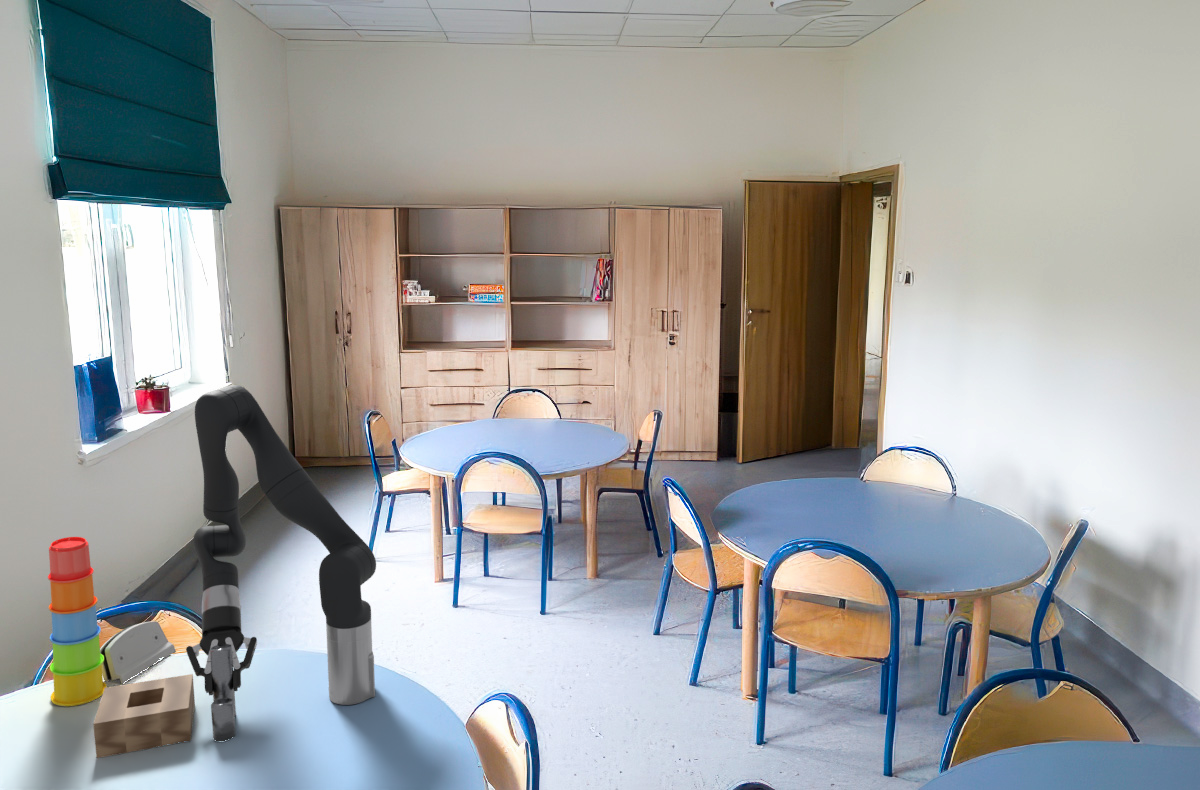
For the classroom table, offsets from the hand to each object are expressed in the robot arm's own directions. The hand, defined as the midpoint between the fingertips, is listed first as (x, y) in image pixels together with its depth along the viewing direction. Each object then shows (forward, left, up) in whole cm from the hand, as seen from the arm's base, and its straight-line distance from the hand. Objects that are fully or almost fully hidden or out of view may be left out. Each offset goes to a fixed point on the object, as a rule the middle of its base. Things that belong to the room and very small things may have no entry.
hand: (223, 691), depth 171 cm
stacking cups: (+29, -22, -7) cm, 37 cm away
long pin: (0, -2, -7) cm, 7 cm away
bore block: (+14, -2, -7) cm, 16 cm away
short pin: (0, +6, -7) cm, 9 cm away
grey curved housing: (+19, -32, -7) cm, 38 cm away
